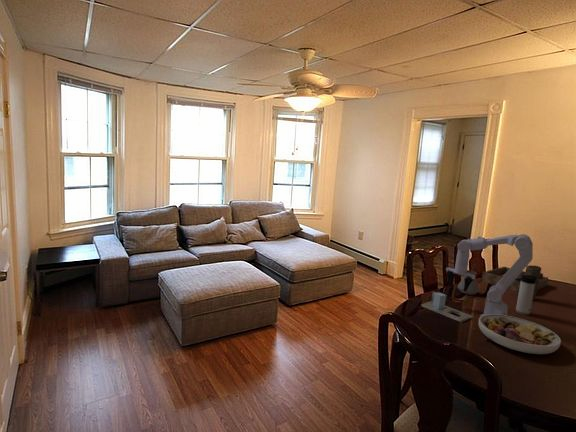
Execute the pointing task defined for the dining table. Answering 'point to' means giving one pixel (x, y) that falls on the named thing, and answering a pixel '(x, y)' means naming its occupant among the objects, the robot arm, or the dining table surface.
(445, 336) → the dining table surface
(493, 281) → the stereo stand
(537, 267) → the dark grey canister
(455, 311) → the panel
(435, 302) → the plug
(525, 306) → the travel mug
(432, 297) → the plug
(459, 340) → the dining table surface
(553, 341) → the bowl
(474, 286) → the coffee pot
